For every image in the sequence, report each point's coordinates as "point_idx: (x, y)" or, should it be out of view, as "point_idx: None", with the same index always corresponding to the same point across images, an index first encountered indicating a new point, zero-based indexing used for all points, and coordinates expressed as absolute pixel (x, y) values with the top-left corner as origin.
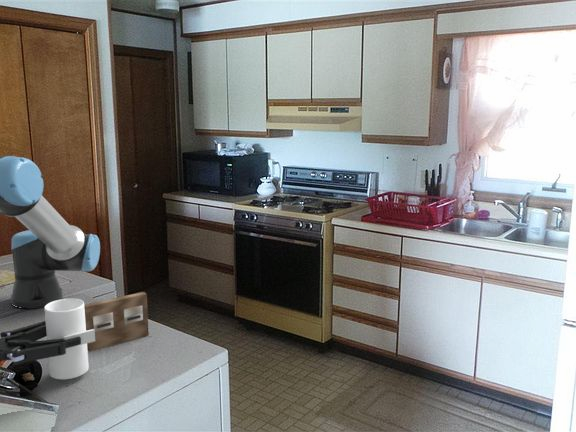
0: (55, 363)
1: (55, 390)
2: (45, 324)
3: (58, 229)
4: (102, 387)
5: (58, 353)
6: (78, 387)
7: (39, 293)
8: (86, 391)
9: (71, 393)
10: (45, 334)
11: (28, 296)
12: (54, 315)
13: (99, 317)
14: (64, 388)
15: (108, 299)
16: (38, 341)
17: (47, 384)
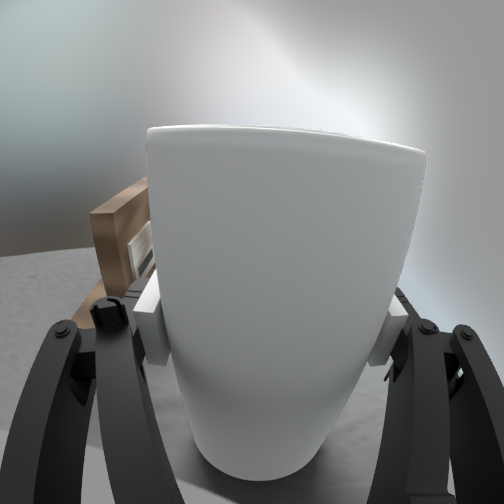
0: (315, 446)
1: (332, 484)
2: (101, 337)
3: None
4: (372, 379)
5: (461, 379)
6: (347, 427)
7: None
8: (378, 412)
9: (374, 445)
10: (148, 391)
11: None
12: (420, 187)
13: (138, 241)
14: (333, 460)
15: (125, 189)
16: (422, 442)
17: (271, 499)
